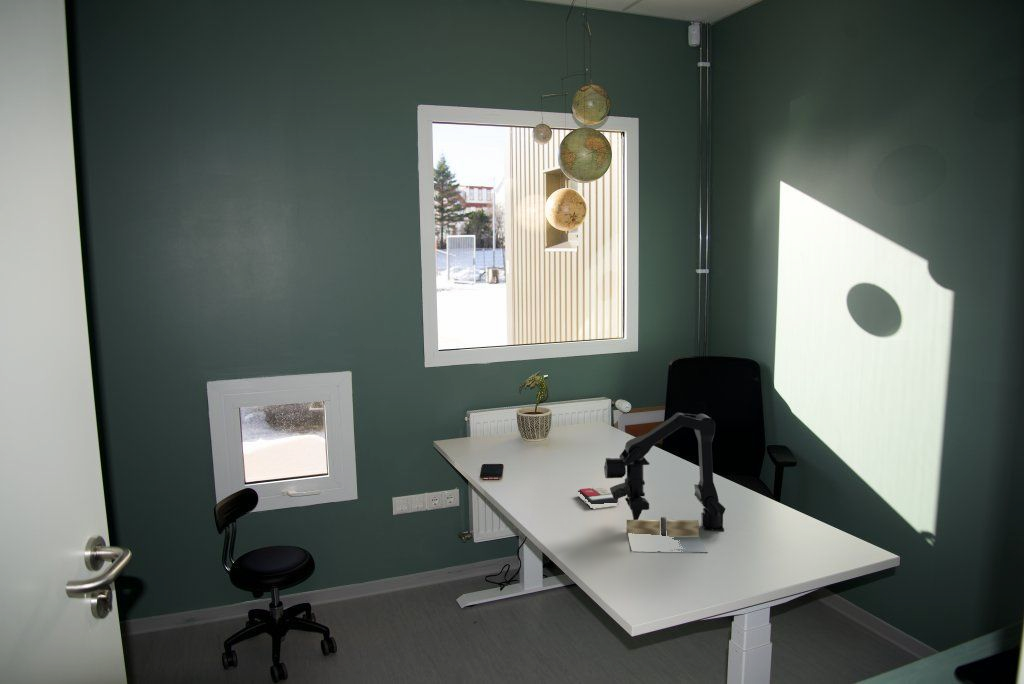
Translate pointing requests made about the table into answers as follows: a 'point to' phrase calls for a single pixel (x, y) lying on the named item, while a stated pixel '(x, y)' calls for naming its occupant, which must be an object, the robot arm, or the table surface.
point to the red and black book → (598, 495)
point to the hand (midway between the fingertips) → (635, 520)
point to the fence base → (679, 527)
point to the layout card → (690, 543)
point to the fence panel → (643, 527)
